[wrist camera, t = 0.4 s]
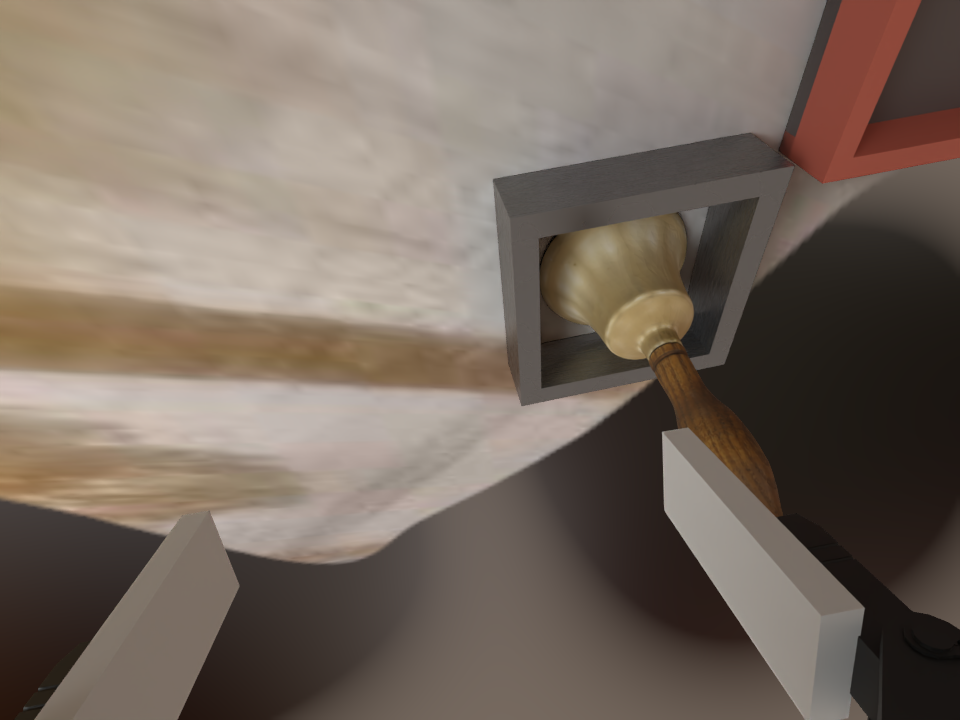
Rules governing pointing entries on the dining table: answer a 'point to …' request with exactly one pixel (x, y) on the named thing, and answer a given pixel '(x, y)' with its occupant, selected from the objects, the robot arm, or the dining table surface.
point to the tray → (878, 89)
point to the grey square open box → (626, 197)
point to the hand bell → (650, 326)
